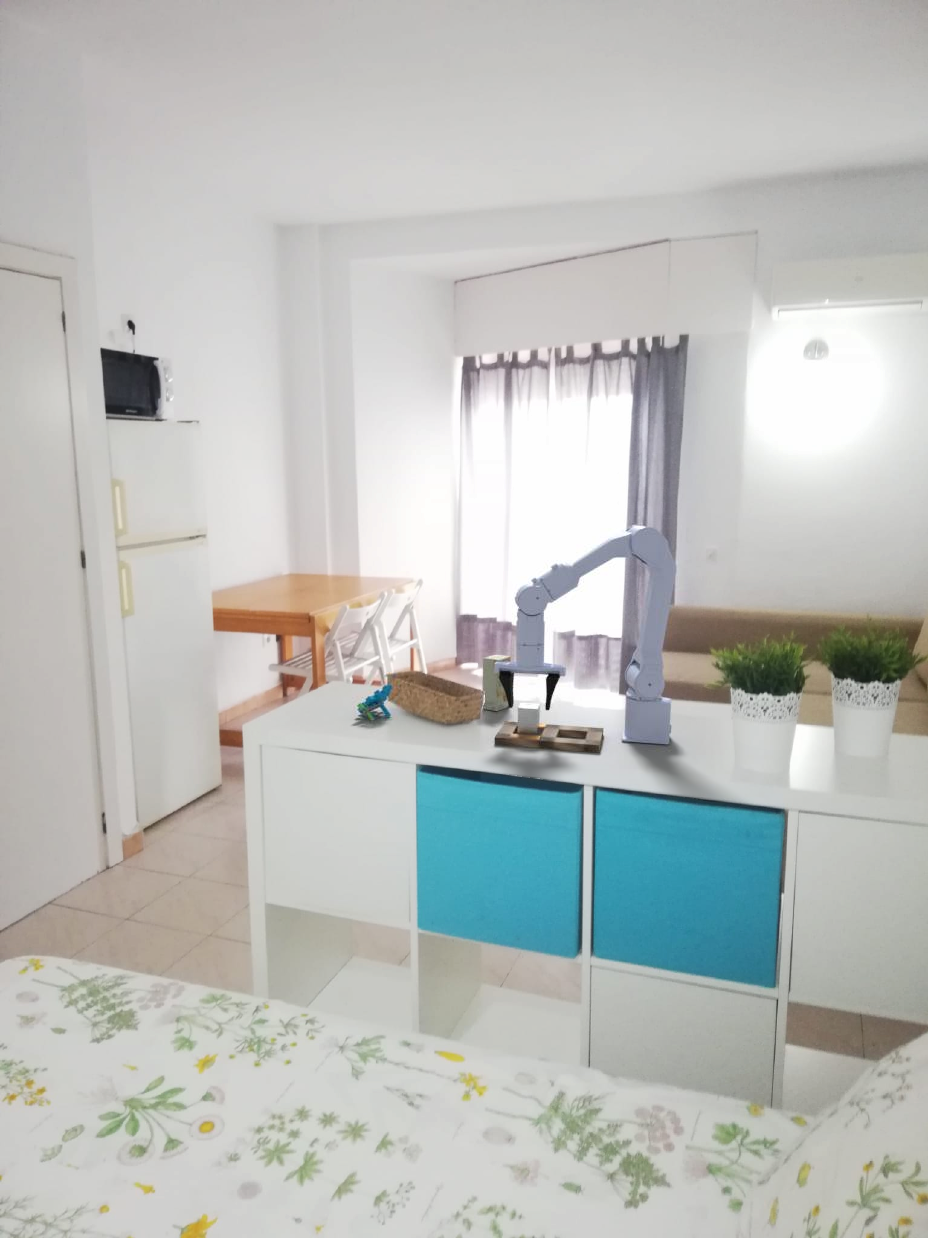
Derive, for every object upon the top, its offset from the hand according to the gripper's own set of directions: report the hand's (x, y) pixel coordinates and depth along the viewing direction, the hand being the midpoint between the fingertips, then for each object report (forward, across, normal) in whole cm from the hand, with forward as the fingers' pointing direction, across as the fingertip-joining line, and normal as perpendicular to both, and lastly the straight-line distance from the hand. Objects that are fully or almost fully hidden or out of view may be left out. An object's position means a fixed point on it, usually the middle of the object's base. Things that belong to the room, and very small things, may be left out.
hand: (529, 708), depth 176 cm
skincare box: (+7, +11, -22) cm, 26 cm away
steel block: (+6, 0, 0) cm, 7 cm away
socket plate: (+6, -4, 0) cm, 8 cm away
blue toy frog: (+7, +36, -8) cm, 38 cm away
